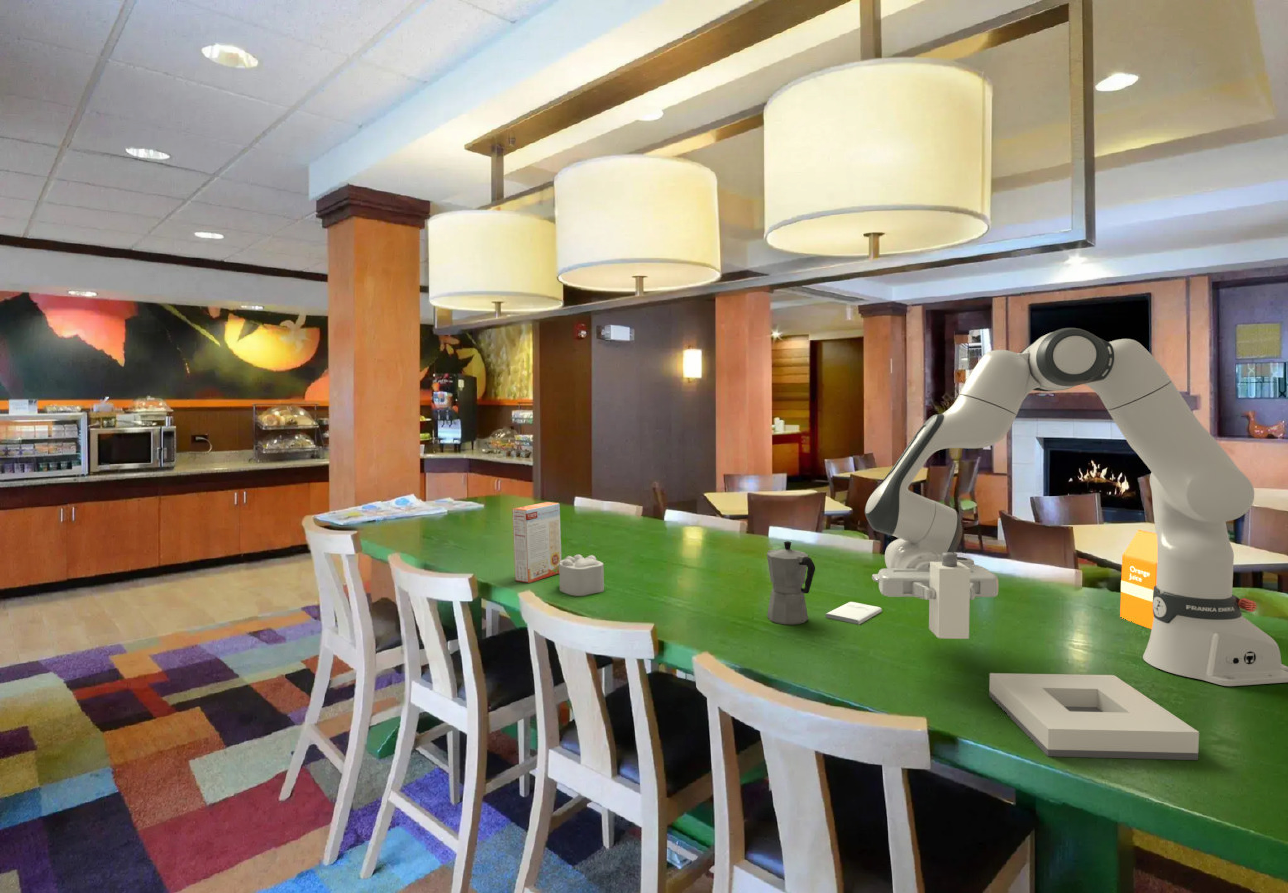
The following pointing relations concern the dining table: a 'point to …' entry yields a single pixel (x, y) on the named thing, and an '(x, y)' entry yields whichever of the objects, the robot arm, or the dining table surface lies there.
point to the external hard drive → (854, 612)
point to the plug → (949, 598)
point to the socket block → (1092, 717)
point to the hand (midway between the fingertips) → (951, 595)
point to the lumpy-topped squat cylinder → (581, 575)
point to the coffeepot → (789, 585)
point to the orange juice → (1139, 579)
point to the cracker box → (536, 541)
